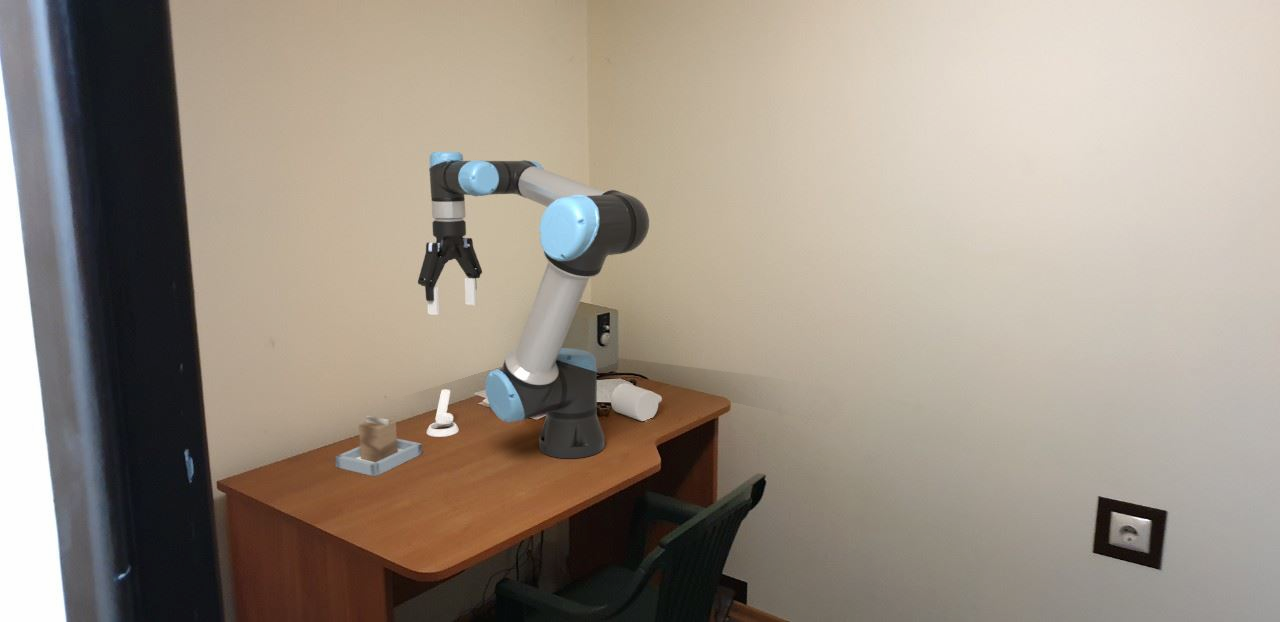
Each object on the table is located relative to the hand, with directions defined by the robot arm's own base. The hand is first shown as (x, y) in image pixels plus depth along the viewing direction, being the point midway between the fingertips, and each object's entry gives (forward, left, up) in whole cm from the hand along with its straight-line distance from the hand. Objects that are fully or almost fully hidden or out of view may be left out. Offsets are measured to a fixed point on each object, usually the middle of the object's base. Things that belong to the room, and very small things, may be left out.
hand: (452, 309), depth 183 cm
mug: (-34, -32, -31) cm, 56 cm away
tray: (+4, +22, -31) cm, 38 cm away
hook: (+4, +1, -31) cm, 31 cm away
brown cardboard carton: (+4, +22, -30) cm, 38 cm away
